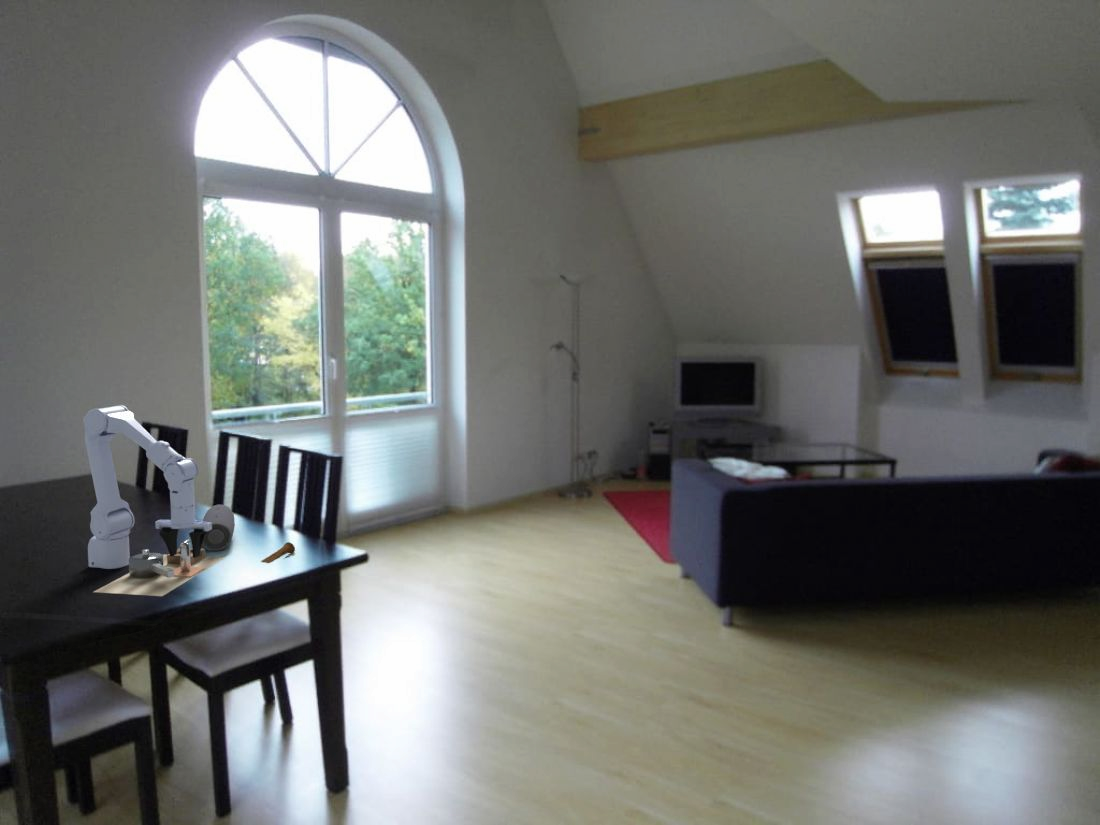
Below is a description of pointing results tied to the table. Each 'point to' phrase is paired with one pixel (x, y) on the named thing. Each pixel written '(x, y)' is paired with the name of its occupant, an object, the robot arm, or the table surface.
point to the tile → (187, 574)
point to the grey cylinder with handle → (148, 565)
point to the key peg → (185, 556)
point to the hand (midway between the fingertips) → (184, 555)
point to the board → (154, 581)
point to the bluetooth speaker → (219, 527)
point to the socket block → (177, 559)
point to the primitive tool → (280, 552)
